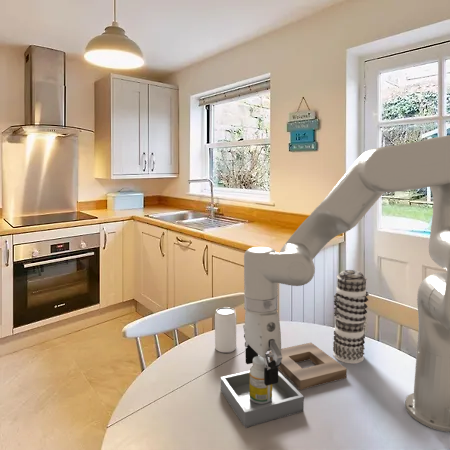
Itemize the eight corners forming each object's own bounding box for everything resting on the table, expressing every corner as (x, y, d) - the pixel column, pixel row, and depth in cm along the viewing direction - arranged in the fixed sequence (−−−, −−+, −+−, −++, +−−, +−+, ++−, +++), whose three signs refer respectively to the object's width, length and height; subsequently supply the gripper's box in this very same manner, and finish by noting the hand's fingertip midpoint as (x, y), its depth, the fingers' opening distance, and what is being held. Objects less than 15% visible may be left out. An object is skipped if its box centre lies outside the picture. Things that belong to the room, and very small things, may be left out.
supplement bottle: (260, 408, 85) (260, 368, 83) (244, 396, 89) (244, 358, 88) (277, 398, 88) (277, 360, 87) (261, 388, 92) (261, 351, 91)
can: (223, 341, 119) (222, 305, 117) (240, 347, 115) (240, 309, 113) (210, 349, 113) (210, 311, 112) (228, 355, 110) (228, 316, 108)
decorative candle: (370, 364, 104) (374, 277, 100) (336, 364, 104) (339, 277, 100) (359, 348, 113) (363, 267, 109) (328, 348, 113) (331, 267, 110)
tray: (303, 411, 85) (303, 396, 84) (245, 427, 79) (245, 412, 79) (272, 378, 98) (272, 365, 97) (220, 390, 93) (220, 377, 92)
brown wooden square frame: (346, 377, 98) (346, 368, 97) (300, 390, 93) (300, 380, 92) (310, 350, 112) (311, 342, 112) (269, 359, 107) (269, 351, 107)
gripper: (296, 313, 78) (295, 389, 81) (258, 288, 94) (258, 352, 97) (263, 319, 75) (263, 397, 78) (230, 292, 91) (231, 358, 94)
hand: (261, 372), depth 87 cm, fingers open, 9 cm apart
